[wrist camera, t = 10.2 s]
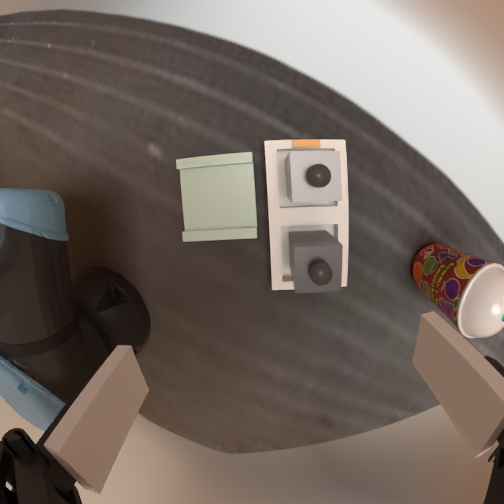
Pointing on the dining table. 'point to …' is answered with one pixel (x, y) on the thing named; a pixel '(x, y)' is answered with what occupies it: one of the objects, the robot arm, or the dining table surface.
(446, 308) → the smoothie
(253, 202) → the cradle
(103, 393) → the robot arm
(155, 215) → the dining table surface
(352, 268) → the dining table surface
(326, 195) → the plug
